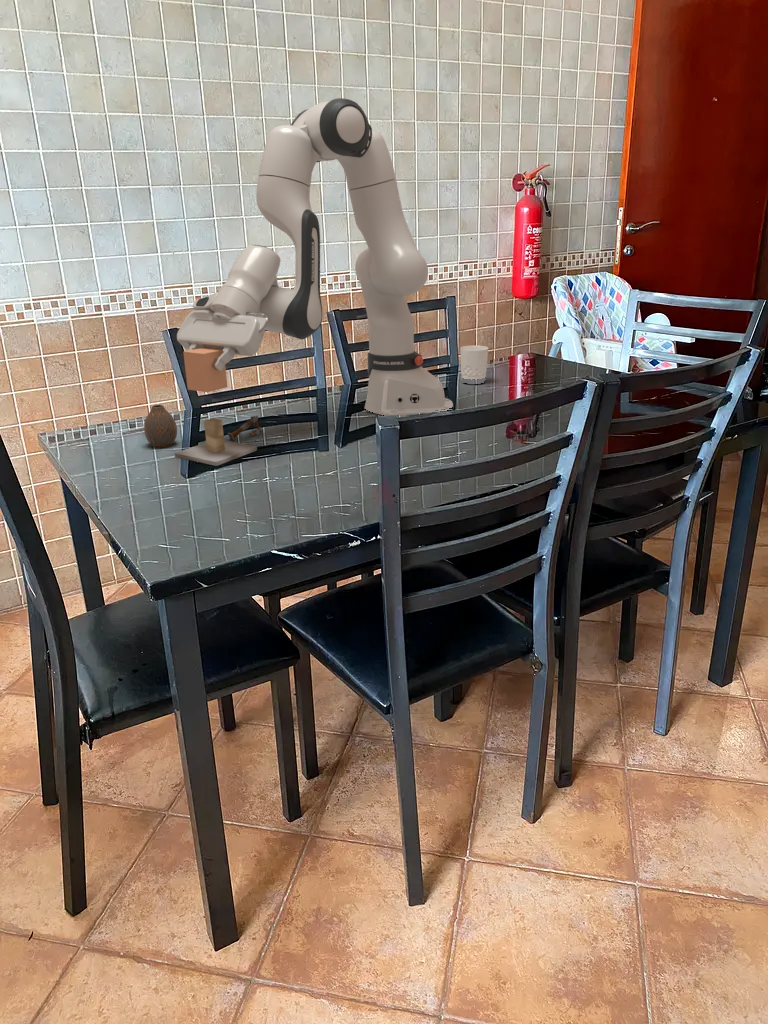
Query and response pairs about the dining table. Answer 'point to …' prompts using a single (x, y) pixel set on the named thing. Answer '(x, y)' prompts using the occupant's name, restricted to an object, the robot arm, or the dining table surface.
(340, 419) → the dining table surface
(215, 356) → the tan cardboard cube
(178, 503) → the dining table surface
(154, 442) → the vase
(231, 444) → the base with wooden post
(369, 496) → the dining table surface
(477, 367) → the white cup
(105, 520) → the dining table surface
